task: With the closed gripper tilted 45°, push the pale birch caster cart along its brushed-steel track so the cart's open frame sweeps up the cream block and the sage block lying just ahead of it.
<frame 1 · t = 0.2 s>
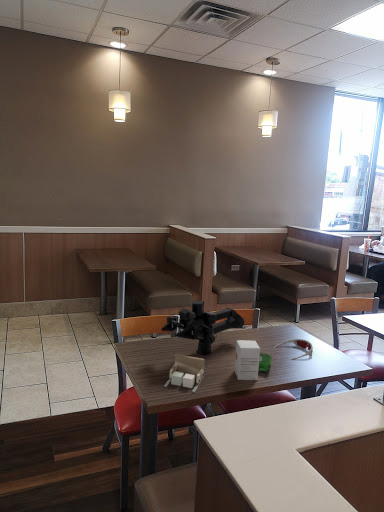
hand: (168, 332, 180), 16 cm above the table, fingers open, 9 cm apart
sage block: (177, 383, 168), on the table
sunglasses: (295, 352, 207), on the table
snack package: (263, 368, 187), on the table
cream block: (188, 385, 167), on the table
steel track: (186, 378, 172), on the table
supplement box: (245, 376, 178), on the table
caster cart: (187, 368, 172), point 5 cm above the table, slide at 0.0 cm
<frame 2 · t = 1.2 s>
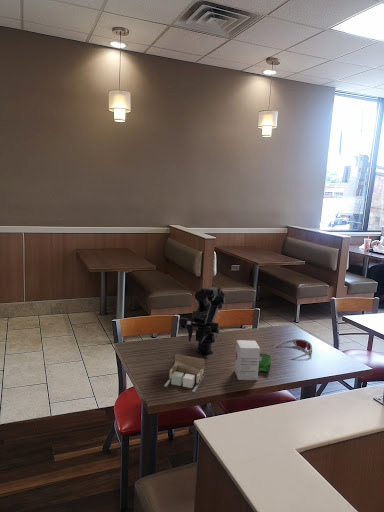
hand: (194, 342, 180), 13 cm above the table, fingers open, 5 cm apart
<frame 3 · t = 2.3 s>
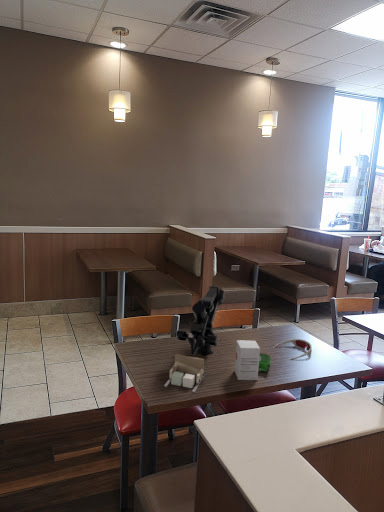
hand: (192, 355, 178), 8 cm above the table, fingers closed
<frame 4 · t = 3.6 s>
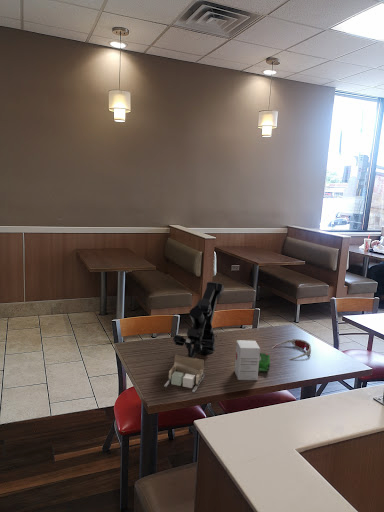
hand: (189, 360, 175), 7 cm above the table, fingers closed, pressing on caster cart
caster cart: (186, 369, 171), point 5 cm above the table, slide at 0.8 cm, touching gripper
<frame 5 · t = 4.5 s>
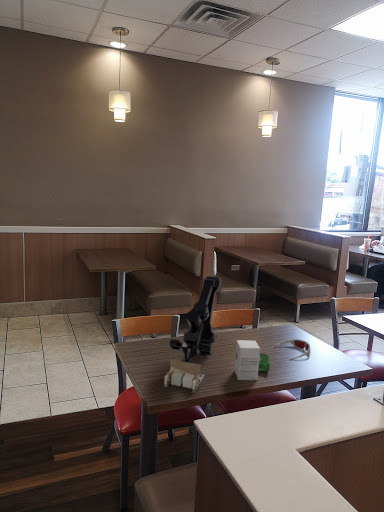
hand: (186, 365, 170), 7 cm above the table, fingers closed, pressing on caster cart
cream block: (188, 385, 167), on the table, touching caster cart
caster cart: (182, 374, 166), point 5 cm above the table, slide at 6.0 cm, touching cream block, gripper
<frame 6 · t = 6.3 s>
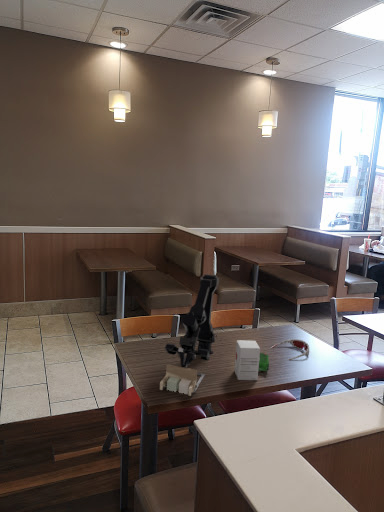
hand: (182, 371, 165), 7 cm above the table, fingers closed, pressing on caster cart
sage block: (173, 389, 163), on the table, touching caster cart
cream block: (184, 391, 162), on the table, touching caster cart
caster cart: (178, 380, 161), point 5 cm above the table, slide at 11.2 cm, touching cream block, gripper, sage block
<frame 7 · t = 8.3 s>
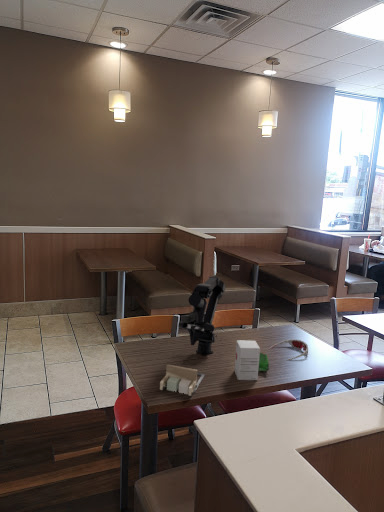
hand: (192, 345, 179), 12 cm above the table, fingers closed
sage block: (173, 388, 163), on the table
cream block: (184, 391, 162), on the table
caster cart: (178, 380, 161), point 5 cm above the table, slide at 11.1 cm
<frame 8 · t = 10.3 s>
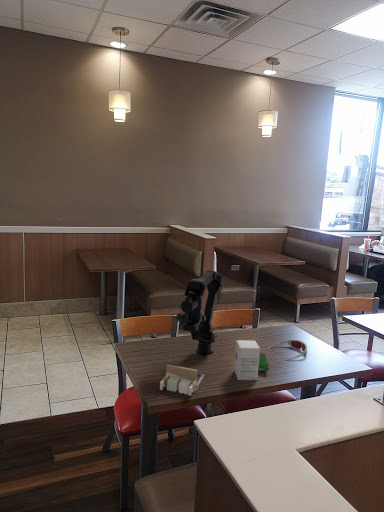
hand: (193, 339, 185), 12 cm above the table, fingers closed
at the end: caster cart slide at 11.1 cm; cream block 0.1 cm from the target spot, on the table; sage block 0.4 cm from the target spot, on the table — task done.
